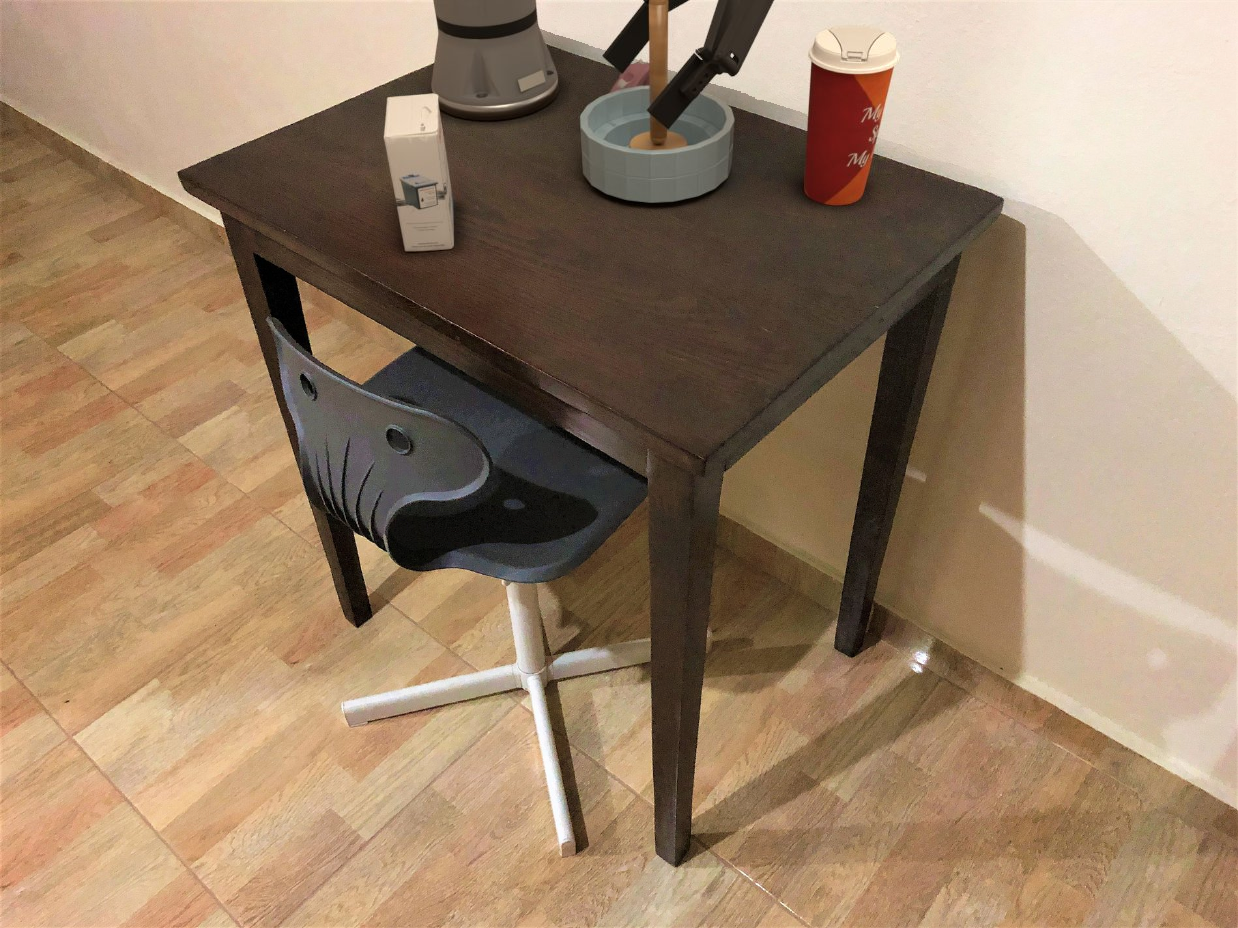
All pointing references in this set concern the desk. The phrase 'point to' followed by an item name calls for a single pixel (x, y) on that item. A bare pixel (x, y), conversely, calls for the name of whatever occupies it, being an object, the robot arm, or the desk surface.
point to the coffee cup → (845, 109)
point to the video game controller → (633, 76)
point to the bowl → (655, 170)
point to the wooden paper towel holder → (658, 81)
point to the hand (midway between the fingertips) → (633, 91)
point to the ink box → (419, 172)
